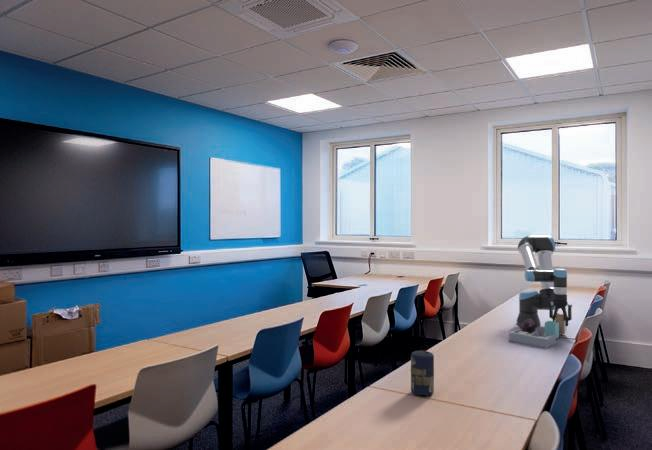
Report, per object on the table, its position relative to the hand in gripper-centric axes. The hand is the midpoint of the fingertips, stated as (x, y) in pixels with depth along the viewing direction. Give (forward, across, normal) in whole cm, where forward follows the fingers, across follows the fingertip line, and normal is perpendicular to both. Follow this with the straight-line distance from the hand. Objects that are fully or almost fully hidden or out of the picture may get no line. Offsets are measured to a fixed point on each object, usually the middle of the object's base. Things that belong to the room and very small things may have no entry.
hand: (560, 330), depth 286 cm
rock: (+3, -16, -10) cm, 19 cm away
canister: (+3, -3, -143) cm, 143 cm away
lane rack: (+3, -5, -29) cm, 30 cm away
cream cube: (+3, -10, -31) cm, 33 cm away
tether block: (+2, 0, -7) cm, 7 cm away
